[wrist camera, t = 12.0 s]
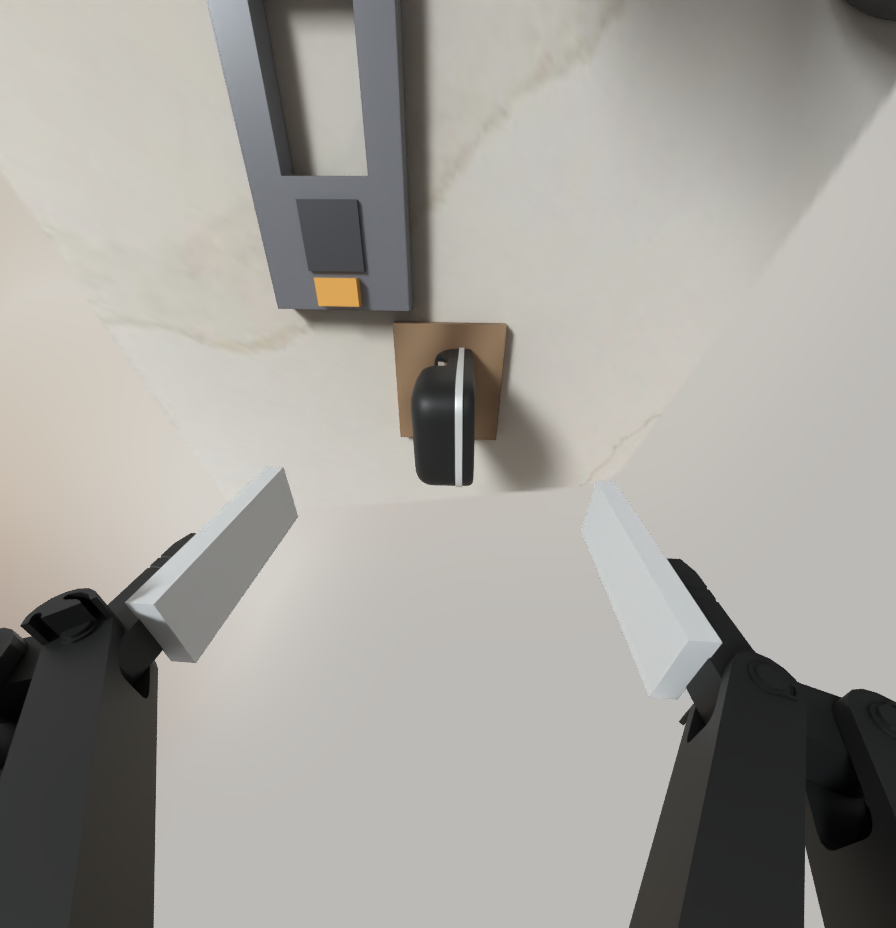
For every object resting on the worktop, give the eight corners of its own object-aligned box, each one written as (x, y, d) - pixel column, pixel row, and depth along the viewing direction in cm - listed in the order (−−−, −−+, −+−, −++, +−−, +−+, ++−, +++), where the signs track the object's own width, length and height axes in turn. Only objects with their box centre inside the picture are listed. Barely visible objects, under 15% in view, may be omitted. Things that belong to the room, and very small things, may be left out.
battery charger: (425, 344, 26) (401, 388, 17) (472, 344, 26) (476, 388, 16) (429, 423, 30) (411, 498, 20) (471, 424, 30) (472, 499, 20)
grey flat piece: (397, -76, 17) (385, -134, 14) (412, 308, 26) (407, 312, 24) (209, -71, 17) (167, -127, 15) (290, 306, 26) (272, 309, 24)
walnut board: (505, 323, 26) (506, 325, 25) (495, 435, 31) (495, 439, 31) (395, 321, 27) (392, 323, 26) (402, 432, 32) (400, 436, 31)
